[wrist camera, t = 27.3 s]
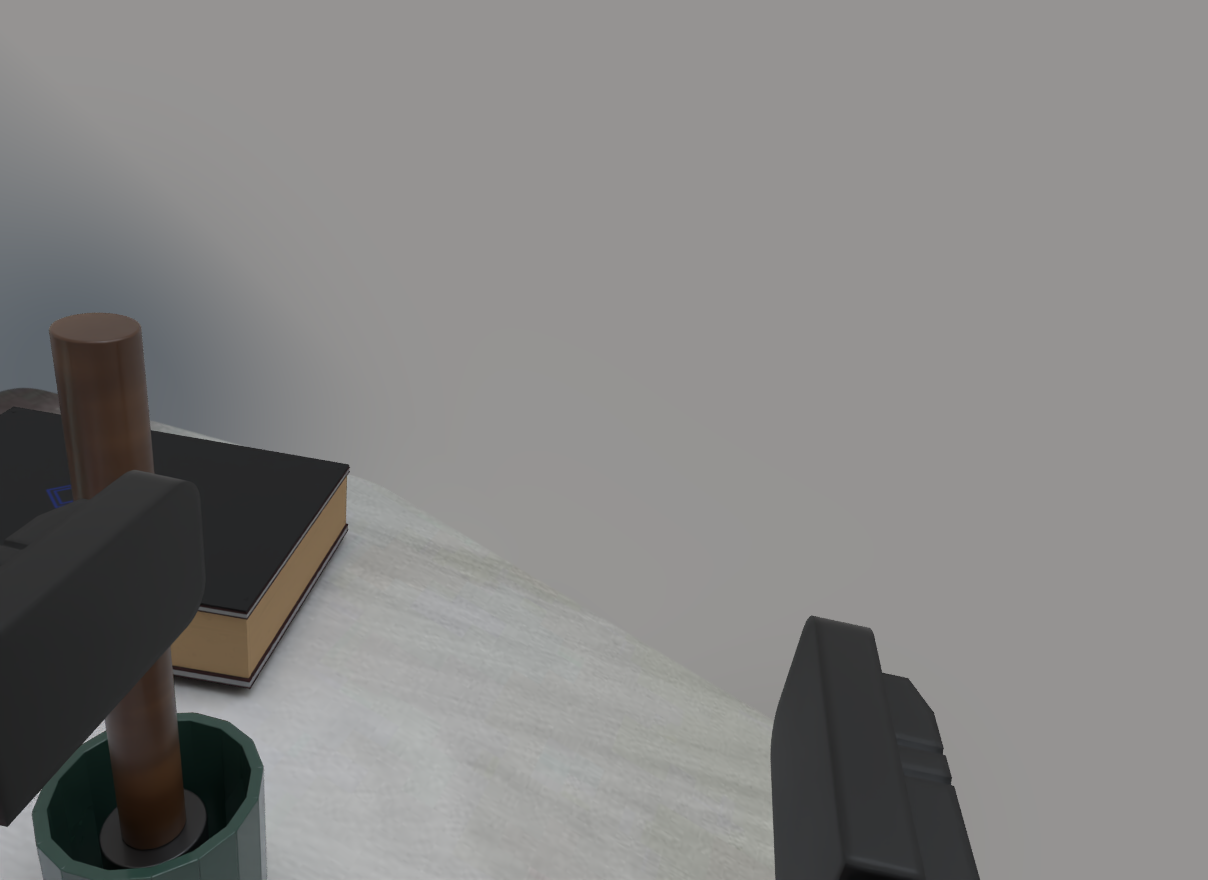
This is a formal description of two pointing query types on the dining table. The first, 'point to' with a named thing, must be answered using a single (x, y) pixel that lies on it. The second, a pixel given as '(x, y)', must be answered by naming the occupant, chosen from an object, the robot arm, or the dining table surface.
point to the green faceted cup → (209, 769)
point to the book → (208, 532)
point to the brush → (148, 712)
